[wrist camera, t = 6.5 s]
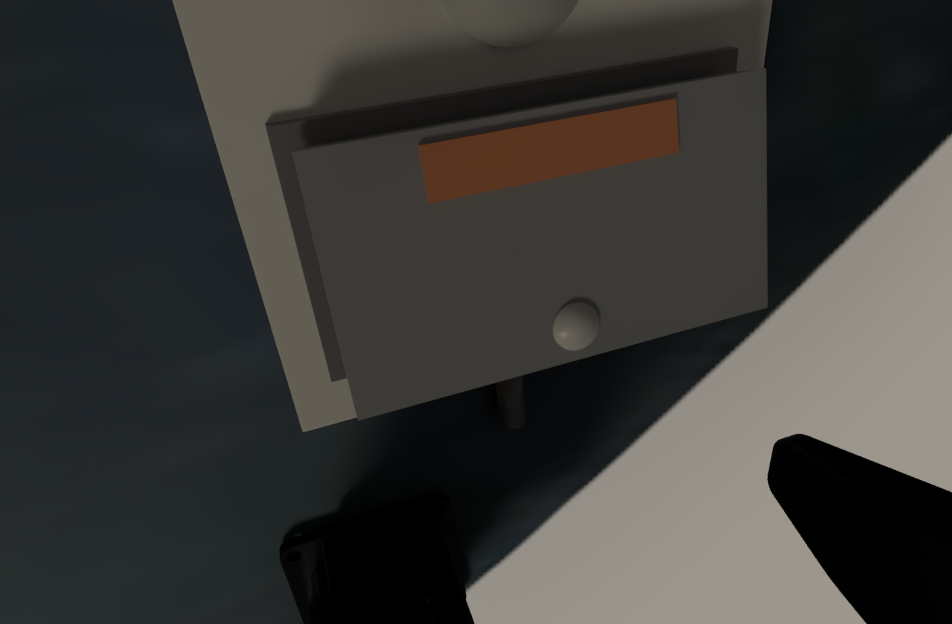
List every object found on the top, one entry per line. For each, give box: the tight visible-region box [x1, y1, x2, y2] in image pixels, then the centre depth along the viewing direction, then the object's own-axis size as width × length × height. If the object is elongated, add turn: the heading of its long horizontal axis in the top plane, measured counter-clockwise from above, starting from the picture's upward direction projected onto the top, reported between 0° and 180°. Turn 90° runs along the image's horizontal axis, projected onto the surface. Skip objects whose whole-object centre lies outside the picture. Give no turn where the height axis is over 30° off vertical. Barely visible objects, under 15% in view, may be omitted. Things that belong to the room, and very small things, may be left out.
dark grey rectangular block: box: [291, 68, 768, 421], centre depth 15 cm, size 6×11×1 cm, turn 96°
